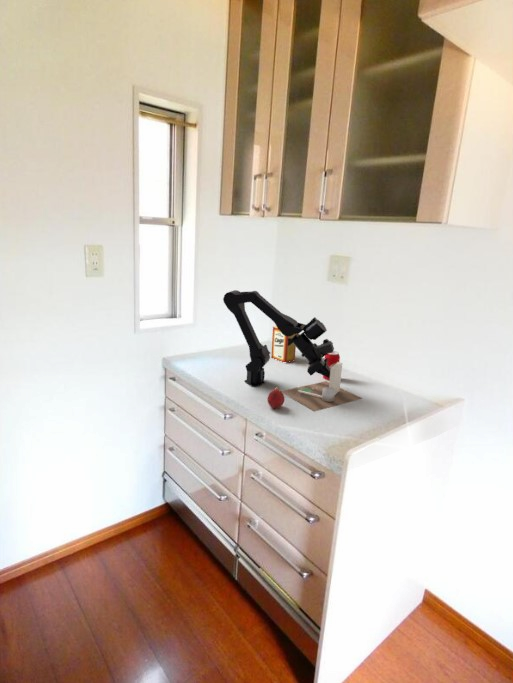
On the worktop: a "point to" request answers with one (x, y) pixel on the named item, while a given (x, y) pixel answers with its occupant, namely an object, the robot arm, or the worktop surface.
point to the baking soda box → (282, 347)
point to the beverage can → (332, 360)
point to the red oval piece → (275, 398)
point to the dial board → (317, 402)
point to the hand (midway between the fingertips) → (332, 378)
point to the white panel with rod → (330, 384)
